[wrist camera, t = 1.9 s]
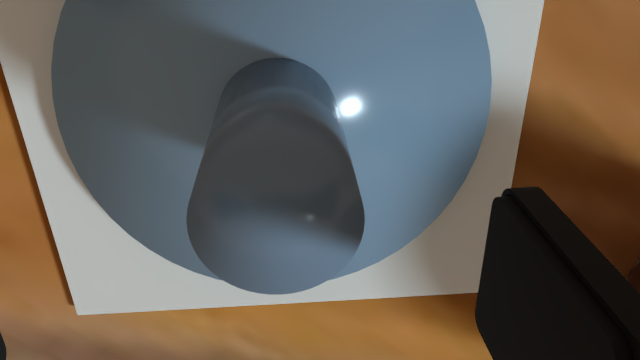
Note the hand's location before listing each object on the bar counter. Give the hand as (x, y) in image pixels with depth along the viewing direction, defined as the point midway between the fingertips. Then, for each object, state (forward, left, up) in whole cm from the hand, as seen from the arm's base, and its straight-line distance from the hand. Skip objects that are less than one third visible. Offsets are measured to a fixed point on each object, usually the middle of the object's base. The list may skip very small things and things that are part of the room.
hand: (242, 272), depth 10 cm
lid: (-1, 0, -8) cm, 8 cm away
